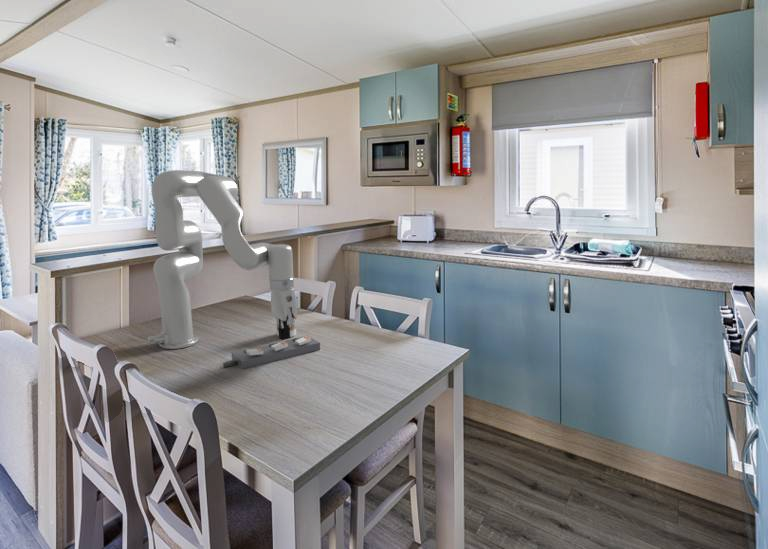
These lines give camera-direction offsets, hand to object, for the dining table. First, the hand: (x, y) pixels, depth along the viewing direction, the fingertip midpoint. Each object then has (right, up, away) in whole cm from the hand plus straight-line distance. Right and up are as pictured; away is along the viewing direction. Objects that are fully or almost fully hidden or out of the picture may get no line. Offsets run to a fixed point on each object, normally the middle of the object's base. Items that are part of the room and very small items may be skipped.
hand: (284, 338), depth 148 cm
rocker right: (+5, -2, +5) cm, 7 cm away
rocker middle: (-1, -3, 0) cm, 3 cm away
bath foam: (-4, -2, +21) cm, 21 cm away
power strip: (-4, -6, +1) cm, 7 cm away
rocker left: (-8, -4, -5) cm, 11 cm away
